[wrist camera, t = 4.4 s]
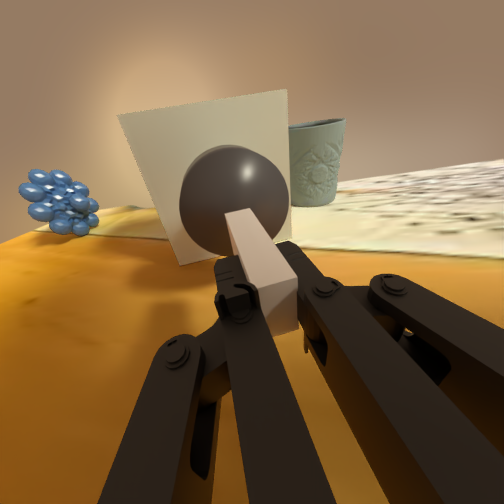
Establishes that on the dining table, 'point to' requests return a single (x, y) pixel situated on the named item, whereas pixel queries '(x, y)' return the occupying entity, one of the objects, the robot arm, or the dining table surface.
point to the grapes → (60, 202)
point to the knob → (230, 195)
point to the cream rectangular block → (198, 141)
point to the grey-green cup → (315, 161)
